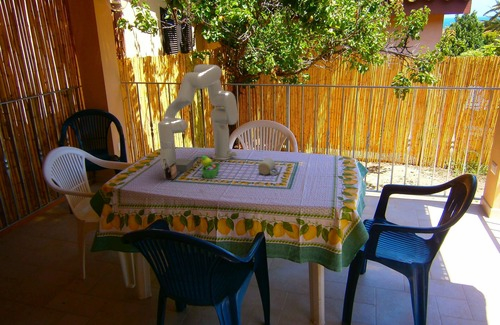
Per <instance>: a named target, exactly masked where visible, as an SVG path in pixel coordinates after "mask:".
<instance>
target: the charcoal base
mask: <svg viewBox="0 0 500 325" xmlns="http://www.w3.org/2000/svg"><path fill="white" fill-rule="evenodd" d="M175 165H176V170H177V172H181V173H182V172H183V173H185V172H186V173H187V172H189V171H191V169H193V167H194V159H187V158H185V159H184V158H176V162H175Z"/></svg>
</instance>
